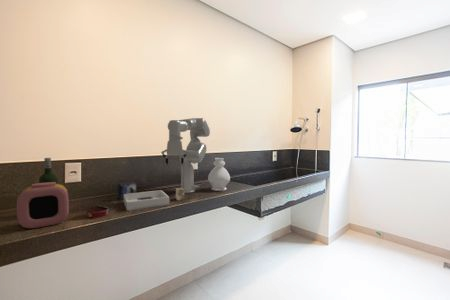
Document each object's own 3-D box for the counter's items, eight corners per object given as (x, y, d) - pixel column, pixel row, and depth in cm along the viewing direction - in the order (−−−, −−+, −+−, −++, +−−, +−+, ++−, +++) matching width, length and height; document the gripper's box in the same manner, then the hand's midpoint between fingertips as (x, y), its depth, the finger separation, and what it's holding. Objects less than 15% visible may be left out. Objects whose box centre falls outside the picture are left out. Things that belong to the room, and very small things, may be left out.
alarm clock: (17, 232, 97) (15, 188, 96) (21, 224, 106) (19, 183, 105) (69, 222, 108) (68, 183, 107) (68, 216, 117) (67, 179, 116)
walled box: (161, 197, 154) (161, 190, 154) (169, 205, 137) (169, 197, 137) (123, 201, 143) (123, 194, 142) (127, 211, 125) (126, 202, 125)
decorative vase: (220, 192, 168) (221, 159, 167) (203, 189, 179) (203, 158, 178) (234, 188, 183) (234, 158, 181) (217, 185, 193) (217, 156, 192)
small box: (120, 200, 146) (119, 184, 146) (117, 198, 151) (117, 183, 151) (136, 197, 153) (136, 182, 152) (133, 195, 158) (133, 181, 157)
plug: (182, 197, 154) (182, 187, 153) (184, 199, 150) (184, 189, 149) (175, 198, 152) (175, 188, 151) (177, 200, 148) (177, 189, 147)
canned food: (90, 222, 121) (89, 204, 124) (110, 218, 124) (109, 200, 128) (84, 219, 111) (83, 200, 114) (106, 215, 114) (105, 196, 118)
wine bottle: (56, 209, 127) (54, 157, 125) (60, 212, 122) (58, 158, 120) (38, 213, 121) (36, 158, 119) (42, 216, 116) (40, 159, 114)
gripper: (187, 139, 156) (186, 163, 157) (161, 138, 151) (161, 163, 152) (188, 138, 149) (188, 164, 150) (161, 138, 144) (161, 165, 145)
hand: (174, 164), depth 151 cm, fingers open, 9 cm apart
